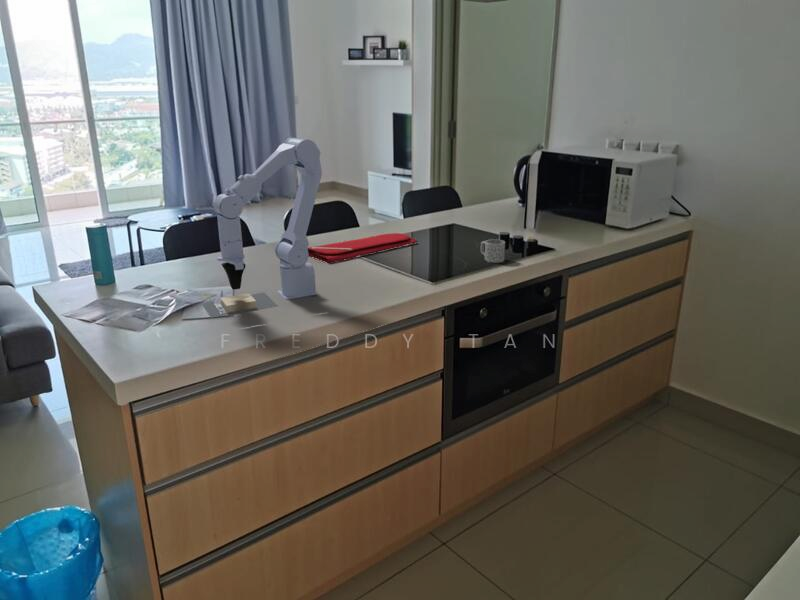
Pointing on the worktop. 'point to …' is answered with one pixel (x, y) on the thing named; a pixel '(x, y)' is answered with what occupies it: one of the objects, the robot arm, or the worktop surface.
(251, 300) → the maple tile
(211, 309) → the rubber mat
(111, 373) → the worktop surface
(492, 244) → the mug
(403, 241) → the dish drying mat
